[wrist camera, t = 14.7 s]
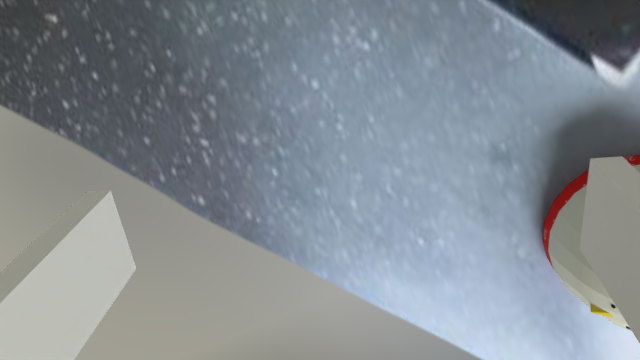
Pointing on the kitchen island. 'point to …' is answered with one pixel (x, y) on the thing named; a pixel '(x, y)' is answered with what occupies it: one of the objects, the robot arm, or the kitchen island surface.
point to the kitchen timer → (578, 249)
